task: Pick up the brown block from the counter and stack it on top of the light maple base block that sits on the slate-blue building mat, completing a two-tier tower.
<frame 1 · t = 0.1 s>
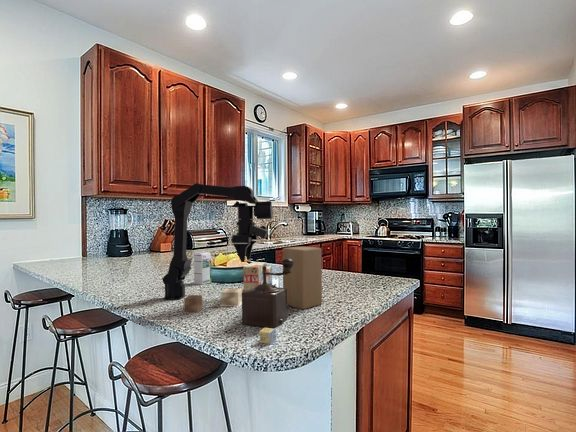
hand: (245, 260, 128), 15 cm above the countertop, tool pointing down, fingers open, 9 cm apart
syrup box: (202, 283, 159), on the countertop
stack of blocks: (258, 292, 140), on the countertop
maple base block: (232, 303, 120), resting on building mat
wooden block: (302, 305, 119), on the countertop
alphabet block: (267, 342, 84), on the countertop
building mat: (227, 305, 119), on the countertop
manual coffee grinder: (270, 320, 102), on the countertop
brown block: (193, 311, 111), on the countertop
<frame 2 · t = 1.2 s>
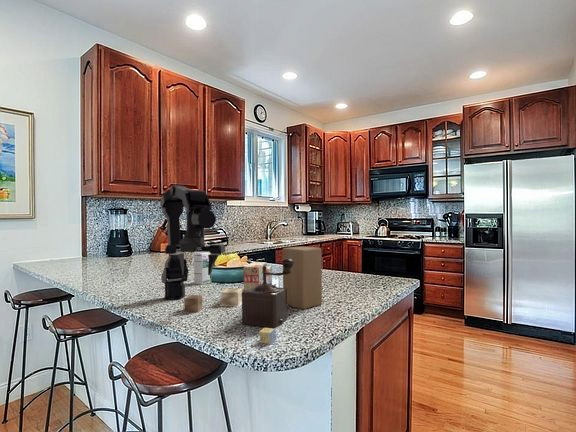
hand: (195, 275, 111), 12 cm above the countertop, tool pointing down, fingers open, 9 cm apart
nothing on the countertop moved.
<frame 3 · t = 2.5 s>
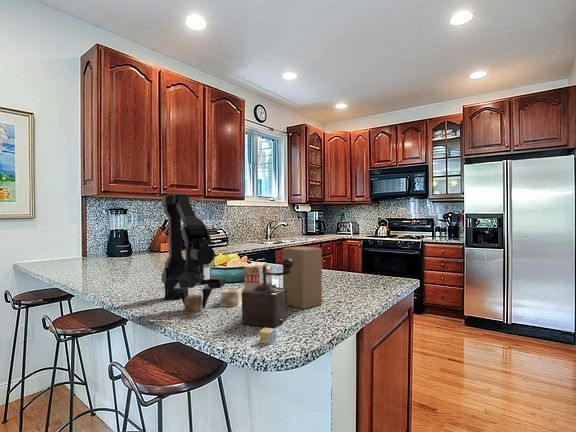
hand: (195, 308, 111), 1 cm above the countertop, tool pointing down, fingers open, 5 cm apart
brown block: (193, 311, 111), on the countertop, touching gripper
everything else where it was.
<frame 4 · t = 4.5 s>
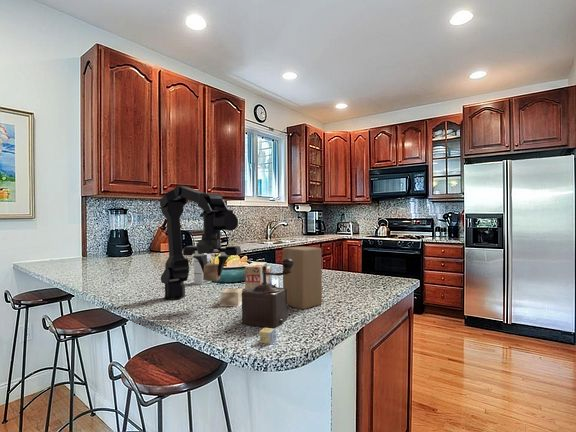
hand: (212, 275, 115), 11 cm above the countertop, tool pointing down, fingers closed on brown block, 5 cm apart
brown block: (211, 279, 115), point 10 cm above the countertop, touching gripper
everything else where it was.
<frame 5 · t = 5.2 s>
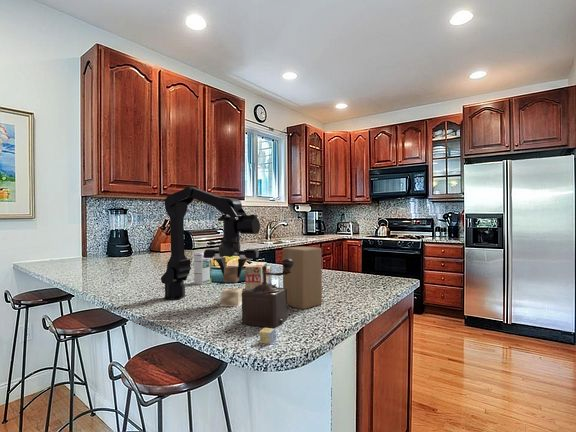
hand: (231, 277, 120), 10 cm above the countertop, tool pointing down, fingers closed on brown block, 5 cm apart
brown block: (231, 281, 120), point 8 cm above the countertop, touching gripper
everything else where it was.
when the fingers open (7 cm above the countertop, at t = 5.9 s): brown block stays where it is, resting on maple base block.
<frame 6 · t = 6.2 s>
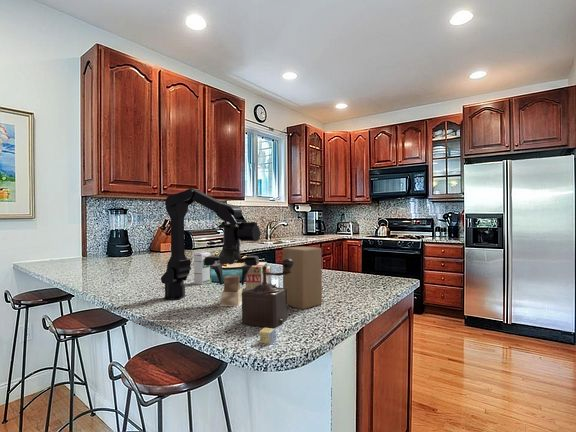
hand: (231, 284, 120), 7 cm above the countertop, tool pointing down, fingers open, 7 cm apart
maple base block: (232, 303, 120), resting on building mat, touching brown block
brown block: (232, 290, 120), point 5 cm above the countertop, touching maple base block
everything else where it was.
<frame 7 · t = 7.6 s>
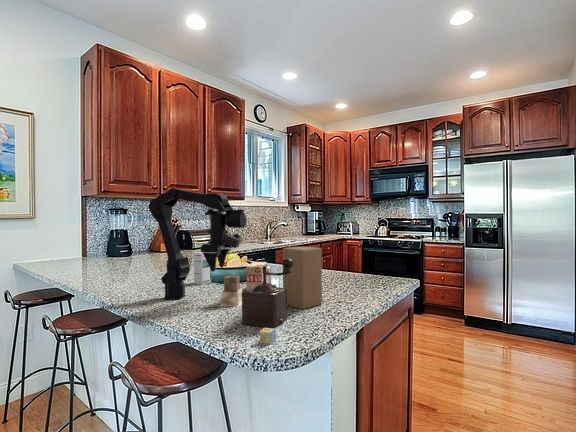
hand: (217, 269, 126), 12 cm above the countertop, tool pointing down, fingers open, 9 cm apart
nothing on the countertop moved.
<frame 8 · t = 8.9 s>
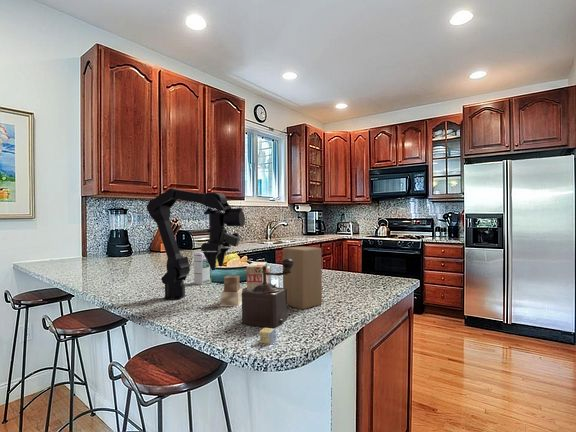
hand: (217, 268, 126), 12 cm above the countertop, tool pointing down, fingers open, 9 cm apart
at the end: brown block 0.3 cm off-centre on the maple base block, point 4.5 cm above the maple base block's base; the gripper is holding nothing; maple base block moved 0.0 cm from its start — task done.
